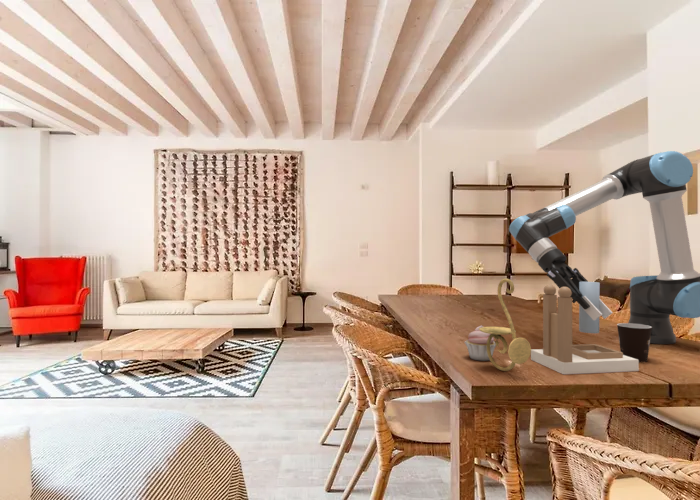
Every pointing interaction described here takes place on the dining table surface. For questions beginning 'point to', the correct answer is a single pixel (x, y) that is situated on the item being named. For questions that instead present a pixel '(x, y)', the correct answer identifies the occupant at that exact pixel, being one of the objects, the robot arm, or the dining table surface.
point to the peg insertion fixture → (559, 342)
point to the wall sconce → (519, 346)
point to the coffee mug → (634, 340)
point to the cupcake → (479, 345)
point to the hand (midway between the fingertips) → (603, 316)
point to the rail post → (593, 295)
